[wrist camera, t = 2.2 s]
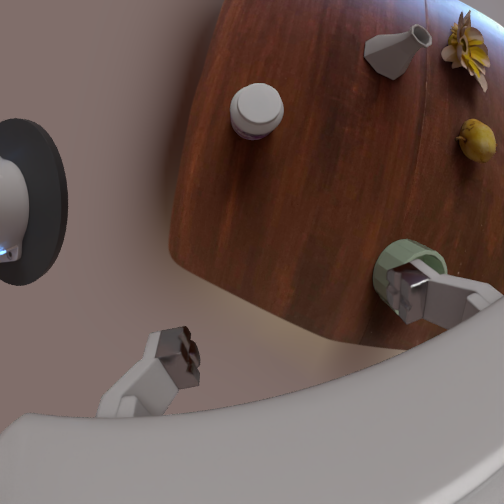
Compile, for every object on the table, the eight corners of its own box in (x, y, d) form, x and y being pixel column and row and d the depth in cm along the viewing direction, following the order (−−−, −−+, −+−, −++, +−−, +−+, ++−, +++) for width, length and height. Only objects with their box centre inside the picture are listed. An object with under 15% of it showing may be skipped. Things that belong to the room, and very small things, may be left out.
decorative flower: (476, 107, 29) (510, 87, 19) (426, 62, 29) (453, 32, 20) (489, 64, 27) (515, 44, 17) (445, 25, 27) (467, -1, 18)
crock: (374, 309, 40) (391, 328, 34) (369, 249, 37) (389, 262, 31) (425, 289, 40) (445, 304, 34) (423, 231, 37) (447, 242, 31)
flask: (373, 29, 27) (406, 2, 18) (410, 59, 29) (449, 40, 19) (355, 57, 29) (389, 30, 19) (395, 88, 30) (436, 72, 21)
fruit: (469, 162, 28) (504, 172, 29) (475, 116, 25) (510, 132, 25) (442, 150, 34) (479, 160, 34) (447, 110, 31) (483, 123, 31)
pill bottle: (223, 130, 32) (218, 115, 22) (242, 93, 30) (244, 67, 21) (263, 148, 32) (274, 140, 23) (281, 111, 31) (298, 91, 22)
